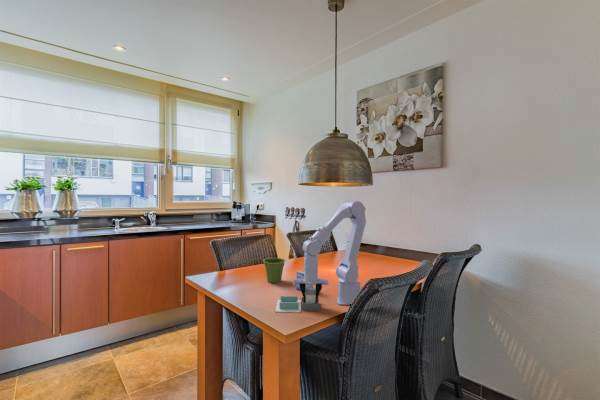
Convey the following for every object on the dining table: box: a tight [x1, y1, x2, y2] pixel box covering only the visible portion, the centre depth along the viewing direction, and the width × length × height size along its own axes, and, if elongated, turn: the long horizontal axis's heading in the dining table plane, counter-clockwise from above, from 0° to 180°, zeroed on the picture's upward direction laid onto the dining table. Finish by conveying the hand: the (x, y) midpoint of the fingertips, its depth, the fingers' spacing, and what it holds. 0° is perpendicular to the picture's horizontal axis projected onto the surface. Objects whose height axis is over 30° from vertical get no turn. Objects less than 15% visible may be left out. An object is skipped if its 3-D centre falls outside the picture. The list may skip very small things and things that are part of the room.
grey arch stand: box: [301, 296, 321, 311], centre depth 125 cm, size 7×8×2 cm
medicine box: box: [295, 270, 315, 293], centre depth 146 cm, size 8×4×9 cm, turn 45°
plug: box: [305, 287, 316, 304], centre depth 125 cm, size 4×4×7 cm
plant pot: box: [262, 257, 286, 284], centre depth 160 cm, size 12×12×11 cm
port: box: [275, 295, 302, 314], centre depth 125 cm, size 10×13×3 cm
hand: (310, 301), depth 125 cm, fingers closed on plug, 4 cm apart
